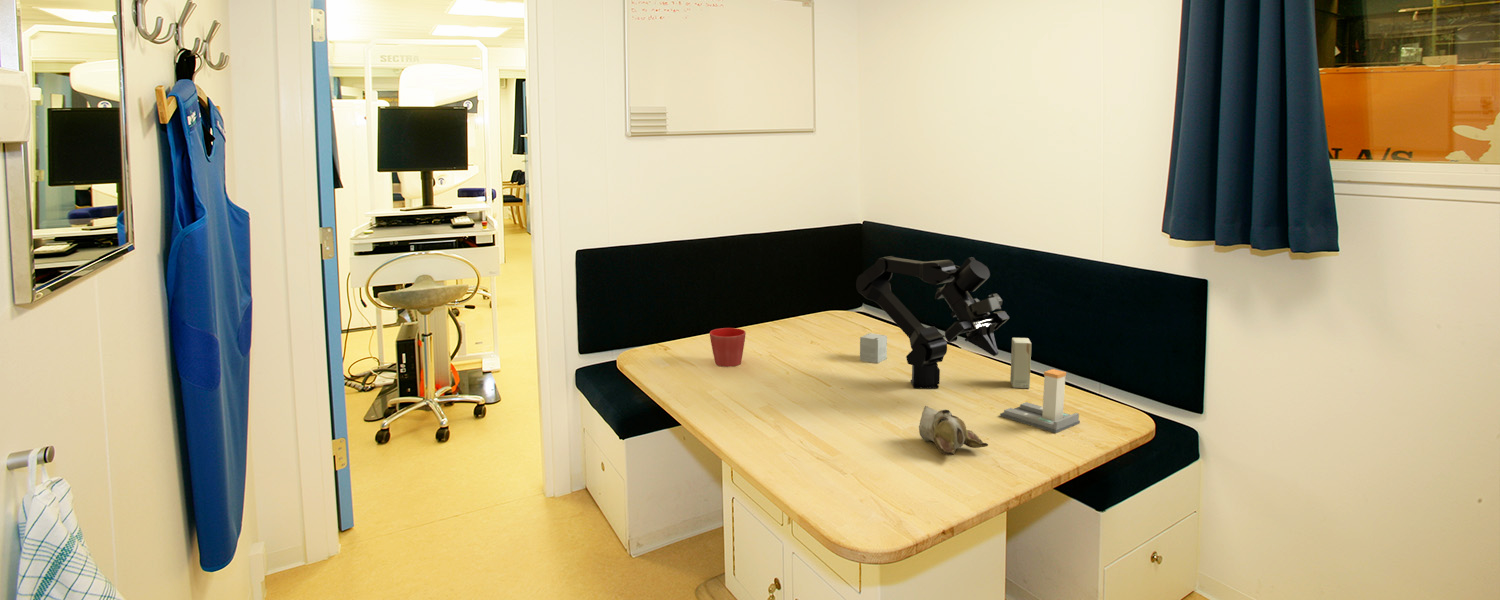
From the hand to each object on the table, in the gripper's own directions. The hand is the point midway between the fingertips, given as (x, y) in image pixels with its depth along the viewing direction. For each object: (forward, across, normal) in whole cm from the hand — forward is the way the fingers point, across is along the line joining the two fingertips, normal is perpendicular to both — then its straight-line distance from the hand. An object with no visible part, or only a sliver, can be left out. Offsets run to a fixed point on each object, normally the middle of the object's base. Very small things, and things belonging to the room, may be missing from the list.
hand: (996, 354), depth 194 cm
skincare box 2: (+5, +19, +14) cm, 24 cm away
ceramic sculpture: (+16, -29, +2) cm, 34 cm away
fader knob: (+20, 0, -2) cm, 20 cm away
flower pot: (-42, -27, +62) cm, 80 cm away
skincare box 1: (-24, +8, +44) cm, 51 cm away
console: (+18, 0, 0) cm, 18 cm away
